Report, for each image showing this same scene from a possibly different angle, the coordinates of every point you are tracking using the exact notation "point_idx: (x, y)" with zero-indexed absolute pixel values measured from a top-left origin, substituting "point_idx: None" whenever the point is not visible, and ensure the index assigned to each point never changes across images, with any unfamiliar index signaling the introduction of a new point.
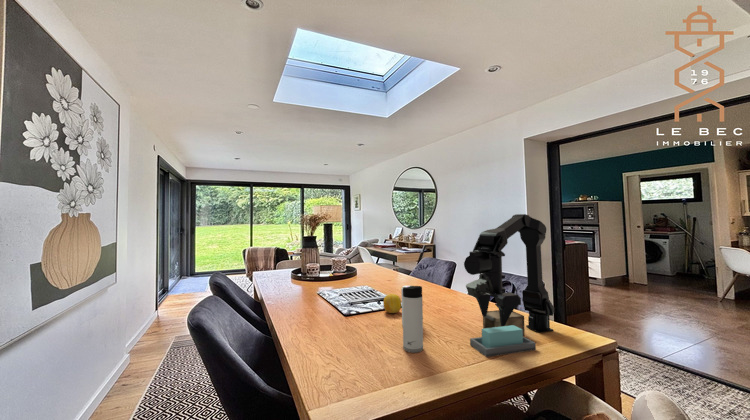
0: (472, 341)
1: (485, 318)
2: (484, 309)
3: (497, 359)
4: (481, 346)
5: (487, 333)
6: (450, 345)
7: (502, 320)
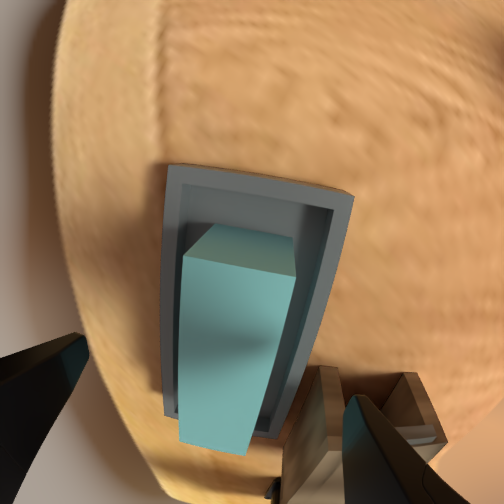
0: (324, 188)
1: (422, 422)
2: (361, 460)
3: (145, 197)
4: (217, 170)
5: (212, 257)
6: (391, 90)
7: (31, 351)
